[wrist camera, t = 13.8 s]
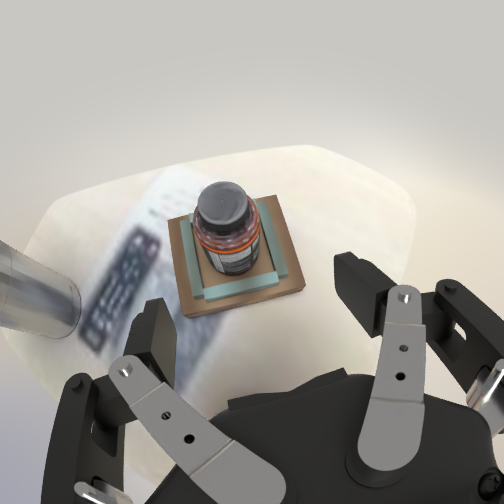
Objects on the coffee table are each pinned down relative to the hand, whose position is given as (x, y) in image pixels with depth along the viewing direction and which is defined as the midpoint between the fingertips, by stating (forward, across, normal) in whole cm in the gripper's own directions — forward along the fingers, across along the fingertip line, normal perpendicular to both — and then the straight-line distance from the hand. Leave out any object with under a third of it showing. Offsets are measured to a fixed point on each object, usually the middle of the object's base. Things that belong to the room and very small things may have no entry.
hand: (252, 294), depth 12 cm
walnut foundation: (+21, 0, +8) cm, 23 cm away
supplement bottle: (+19, 0, +6) cm, 20 cm away
